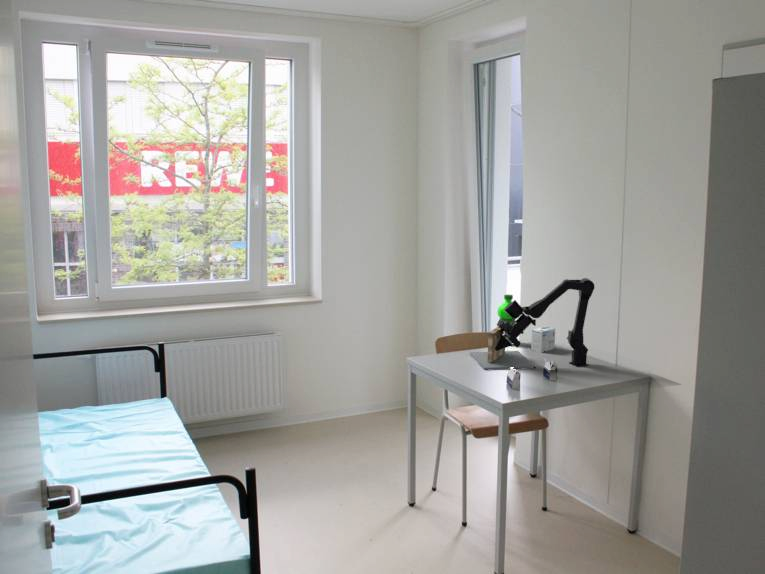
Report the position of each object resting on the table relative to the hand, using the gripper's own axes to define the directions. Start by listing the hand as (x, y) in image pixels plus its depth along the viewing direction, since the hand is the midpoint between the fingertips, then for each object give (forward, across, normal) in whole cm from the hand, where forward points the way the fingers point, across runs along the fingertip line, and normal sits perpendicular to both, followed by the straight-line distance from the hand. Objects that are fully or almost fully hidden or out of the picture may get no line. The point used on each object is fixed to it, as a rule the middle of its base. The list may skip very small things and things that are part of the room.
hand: (495, 350), depth 311 cm
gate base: (+2, -4, +8) cm, 9 cm away
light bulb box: (-17, -22, +26) cm, 38 cm away
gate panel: (+3, -5, +5) cm, 7 cm away
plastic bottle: (-7, -35, +16) cm, 39 cm away
